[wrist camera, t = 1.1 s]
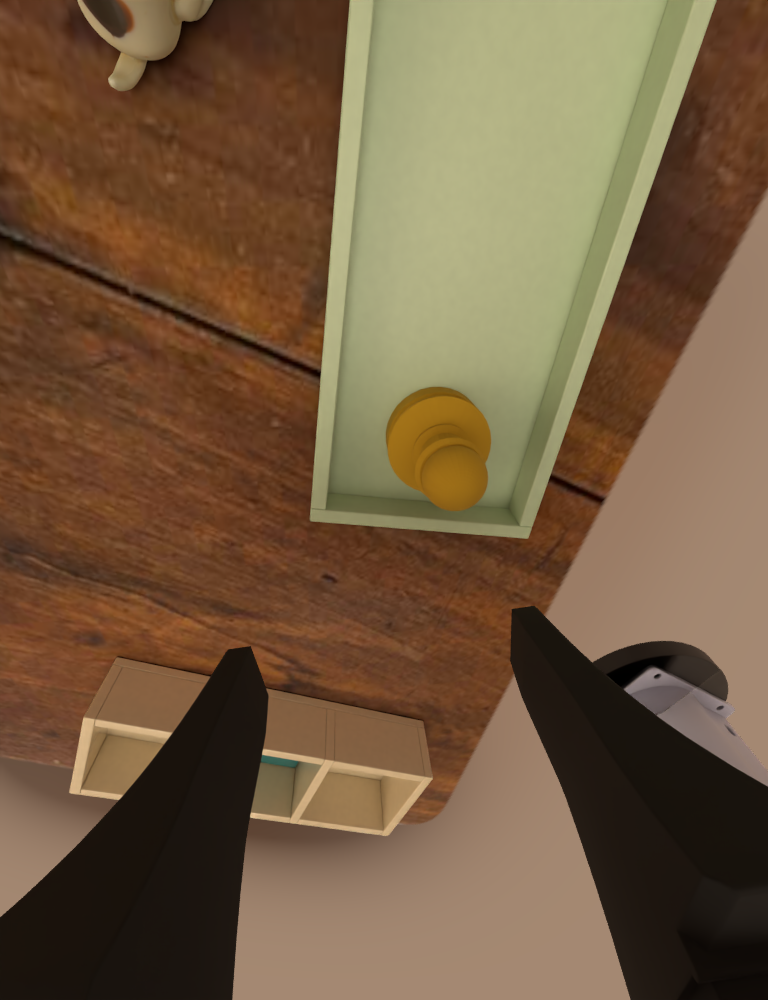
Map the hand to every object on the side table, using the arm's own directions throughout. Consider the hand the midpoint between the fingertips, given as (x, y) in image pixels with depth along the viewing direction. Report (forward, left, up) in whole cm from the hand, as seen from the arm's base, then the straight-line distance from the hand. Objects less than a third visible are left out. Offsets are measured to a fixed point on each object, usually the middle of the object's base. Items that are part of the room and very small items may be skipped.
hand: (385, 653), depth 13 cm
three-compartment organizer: (-3, +16, -9) cm, 18 cm away
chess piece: (0, -4, -8) cm, 9 cm away
